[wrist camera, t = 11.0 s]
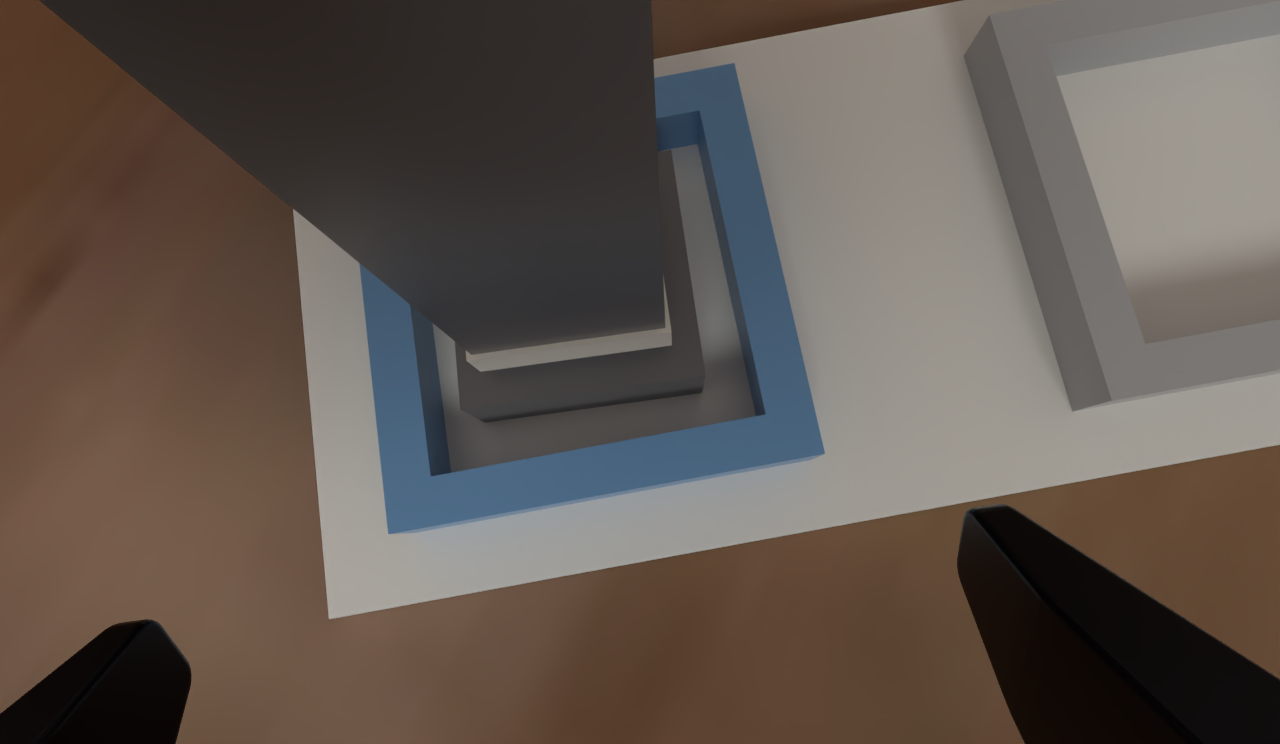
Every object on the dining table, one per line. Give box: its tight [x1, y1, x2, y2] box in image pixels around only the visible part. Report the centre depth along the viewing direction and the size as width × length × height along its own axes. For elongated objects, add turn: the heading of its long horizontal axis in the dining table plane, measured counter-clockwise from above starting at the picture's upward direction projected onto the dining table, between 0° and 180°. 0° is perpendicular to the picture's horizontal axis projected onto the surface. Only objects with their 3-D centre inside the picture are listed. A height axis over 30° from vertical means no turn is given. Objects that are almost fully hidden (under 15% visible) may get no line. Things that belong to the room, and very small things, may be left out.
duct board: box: [293, 0, 1280, 619], centre depth 17 cm, size 28×12×2 cm, turn 100°
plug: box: [39, 0, 706, 423], centre depth 11 cm, size 5×5×13 cm
